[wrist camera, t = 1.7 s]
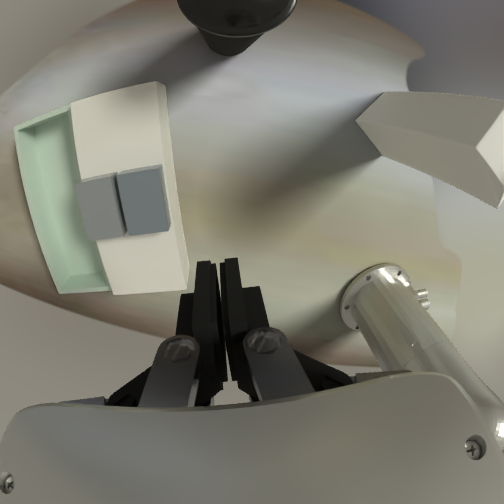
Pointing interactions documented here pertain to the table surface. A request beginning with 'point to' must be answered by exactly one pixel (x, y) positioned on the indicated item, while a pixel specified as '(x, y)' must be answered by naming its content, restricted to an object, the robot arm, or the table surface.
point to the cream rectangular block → (130, 157)
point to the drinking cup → (235, 21)
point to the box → (58, 202)
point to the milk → (442, 138)
